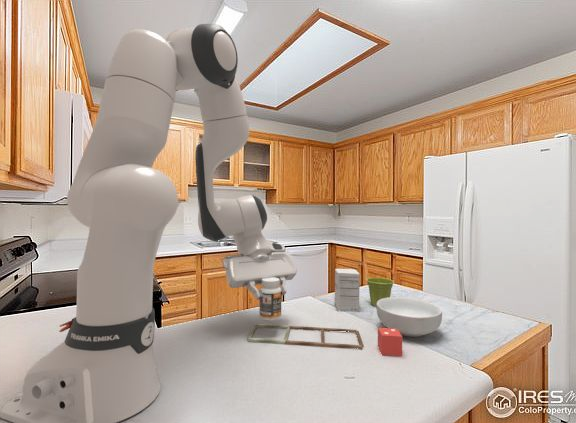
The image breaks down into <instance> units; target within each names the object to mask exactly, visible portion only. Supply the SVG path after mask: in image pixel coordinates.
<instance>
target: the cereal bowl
mask: <svg viewBox="0 0 576 423" xmlns="http://www.w3.org/2000/svg"><path fill="white" fill-rule="evenodd" d="M376 313H377V314H376V315H377V317H378V319H379V320H380V322H381V323H382V324H383V325H384V326H385V327H386V328H394V329H398V331H399V332H400V334H401V335H402V336H404V337H410V338H411V337H412V338H419V337H422V336H423V335H429V334H431V333H433V332H436V331H437V330H438V329H439V328H440V326H441V324H442V320H443V311H442V308H441V307H440V306H439V305H437V304H434V303H432V302H430V301H426V300H422V299H417V298H413V297H403V296H399V297H398V296H397V297H396V296H393V297H391V296H390V297H389V298H383V299H380V300H379V301H378V302H377V307H376Z"/></svg>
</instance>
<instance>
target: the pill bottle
mask: <svg viewBox="0 0 576 423" xmlns="http://www.w3.org/2000/svg"><path fill="white" fill-rule="evenodd" d="M261 285H262V287H260V289H259V290H261V291H262V293H263V297H262V299H259V309H258V310H259V311H258V312H259V317H260V318H261V319H262V320H265V321H276V320H279V319H280V318H281V317H282V295H281V294H282V291H281V288H280V280H279V278H274V277H271V278H264V279H262V284H261Z"/></svg>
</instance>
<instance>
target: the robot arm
mask: <svg viewBox="0 0 576 423" xmlns="http://www.w3.org/2000/svg"><path fill="white" fill-rule="evenodd" d="M238 59H239V58H238V50H237V47H236V44H235V42H234V39H233V38H232V37H231V35H230V34H229V33H228V32H227V30H226V29H224V27H223V26H221V25H220V24H215V23H200V24H198V25H196V26H193V27H187V28H183V29H176V30H173V31H170V32H168V33H165V34H163V35H160V34H158V33H157V32H154V31H152V30H148V29H143V28H135V29H134V28H133V29H131V30H130V31H127V32H125V34H124V35H123V36H122V38H121V39H120V41H119V43H118V45H117V46H116V49H115V51H114V53H113V56H112V57H111V61H110V63H109V64H110V65H109V67H108V71H107V73H106V78H105V82H104V85H103V90H102V95H101V99H100V103H99V108H98V111H97V116H96V119H95V123H94V126H93V128H92V129H93V130H92V132H91V133H90V136H89V139H88V141H87V143H86V146H85V149H84V152H83V153H82V156H81V159H80V161H79V165H78V166H77V170H76V172H75V175H74V178H73V181H72V183H71V186H70V187H69V190H68V191H67V196H66V203H67V208H68V209H69V211H70V213H71V215H72V216H73V218H75V219H76V220H77V221H78V222H79V223H80V224H82V225H83V226H86V227H87V228H88V229H89V232H88V237H87V241H86V244H85V245H86V246H85V250H84V254H83V256H82V261H81V263H80V265H79V266H78V269H77V274H76V310H75V312H76V315H75V317H73V318H72V319H71V320H70V321H67V322H65V323H62V324H60V325H59V327H63V328H60V330H59V331H58V332H59V333H62V332H65V331H66V330H68V331H67V334H66V337H65V339H64V341H63V342H61V343H60V344H59V345H58V346H56V347H55V348H53V349H52V350H51V351H50V352H47V353H46V355H44V356H43V357H41V358H40V359H39V360H37V361H36V362H35V363H34V364H33V365H32V366H31V367H30V368H29V369H28V371H27V373H26V375H25V376H24V381H23V386H22V390H21V391H20V392H18V393H17V394H16V395H14V397H12V398H11V399H10V400H9V401H8V402H7V403H6V404H5V405H4V406H3V407H2V409H1V411H0V418H1V419H2V420H5V421H8V422H11V423H118V422H121V421H124V420H126V419H128V418H130V417H133V416H135V415H136V414H138V413H139V412H141V411H143V410H144V409H146V408H147V407H148V406H149V405H151V404H152V403H153V402H154V400H156V399H157V397H158V395H159V393H160V392H161V389H162V387H161V381H160V379H159V378H160V377H159V375H158V371H157V366H156V361H155V360H156V359H155V353H154V340H155V330H156V319H155V318H156V314H155V313H156V312H155V311H156V310H155V308H154V307H153V296H154V294H153V291H154V270H155V262H156V257H157V254H158V249H159V246H160V243H161V239H162V236H163V233H164V231H165V228H166V227H167V225H168V224H169V223H170V221H172V219H173V218H174V216H175V215H176V212H177V210H178V206H179V205H178V204H179V197H178V192H177V188H176V186H175V183H174V182H173V181H172V180H171V178H170V177H168V176H167V174H165V173H164V172H162V170H158V169H156V168H153V165H154V163H155V161H156V159H157V158H158V156H159V154H160V153H161V152H162V151H163V149H164V147H165V146H166V144H167V141H168V136H169V131H170V126H171V120H172V115H173V111H174V104H175V99H176V92H178V91H188V90H193V92H194V93H195V95H196V96H197V98H198V104H199V109H200V111H199V112H200V116H201V119H202V124H203V135H202V139H201V141H200V143H199V144H197V145H196V148H195V154H194V156H195V158H194V159H195V177H196V188H197V190H196V191H197V199H198V200H197V201H198V212H197V224H198V229H199V232H200V233H201V235H202V237H203V238H205V239H207V240H209V241H212V242H215V243H217V242H218V241H221V240H224V239H226V238H227V237H230V236H232V239H233V240H234V242H235V243H236V249H237V254H228V255H226V256H224V257H223V258H222V260H221V263H222V266H223V268H224V269H225V276H226V282H227V286H229V287H230V288H232V289H237V288H244V287H246V288H247V290H248V291H249V292H250V293H251V294H253V296H254V298H255V300H256V301H257V300H260V299H262V297H263V293H262V291H261V290H260V289H258V288H257V287H256V286H259V285H262V279H264V278H271V277H274V278H279V280H280V284H279V287H280V288H281V291H282V294H281V296H284V295H286V294H287V289H286V281H290V280H293V279H294V278H295V276H296V275H297V272H298V270H297V267H296V265H295V262H294V261H293V259H292V257H291V256H290V254H288V253H287V252H286V247H285V245H284V244H281V243H276V242H272V241H270V240H267V239H266V238H265V236H264V235H263V232H262V231H263V230H264V228H265V226H266V224H267V222H268V213H267V210H266V208H265V205H264V204H263V202H262V200H261V199H260V198H258V196H256V195H254V194H249V195H244V196H240V197H236V198H233V199H229V200H225V201H221V202H215V194H214V181H213V180H214V178H213V177H214V173H215V171H216V169H217V168H218V166H220V165H221V164H222V163H223V162H225V161H226V160H228V159H229V158H231V157H233V156H235V155H236V154H237V153H238V152H239V151H241V150H242V149H243V147H244V146H245V145H246V143H247V141H248V140H249V136H250V126H249V124H250V123H249V118H248V117H249V116H248V113H247V107H246V104H245V99H244V96H243V93H242V90H241V86H240V84H239V82H238V78H237V76H236V73H237V70H238V64H239V62H238V61H239V60H238Z"/></svg>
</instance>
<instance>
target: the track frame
mask: <svg viewBox="0 0 576 423" xmlns="http://www.w3.org/2000/svg"><path fill="white" fill-rule="evenodd" d="M257 328H265V329H266V328H268V329H269V328H270V329H281V328H283V329H284V330H285V335H284V338H283V339H271V338H259V337H257V338H256V337H253V336H254V334H255V332H256V330H257ZM298 329H303V330H302V331H314V330H321V331H320V339H321V342H320V341H319V342H318V341H302V340H301V341H300V340H288V339H289V337H290V332H291V330H298ZM330 331H346V332H348V331H349V332H356V333H355V336H356V335H357V336H356V339H357V338H358V339H357V342H358V344H347V343H334V342H333V343H332V342H325V340H326V339H325V332H330ZM346 332H345V333H346ZM246 340H247V342H249V343H250V342H251V343H265V344H277V345H279V344H280V345H293V346H294V345H295V346H306V347H307V346H309V347H321V348H323V347H325V348H337V349H350V348H356V349H355V350H363V348H362V347H364V346H365V345H364V343H363V340H362V338H361V334H360V331H359V330H357V329H351V328H350V329H348V328H347V329H346V328H333V327H332V328H331V327H320V326H319V327H317V326H304V325H303V326H299V325H286V324H270V323H269V324H268V323H267V324H266V323H255V324H254V325H253V327H251V329H250V332H249V334H248V335H247V338H246ZM357 348H358V349H357Z"/></svg>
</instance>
